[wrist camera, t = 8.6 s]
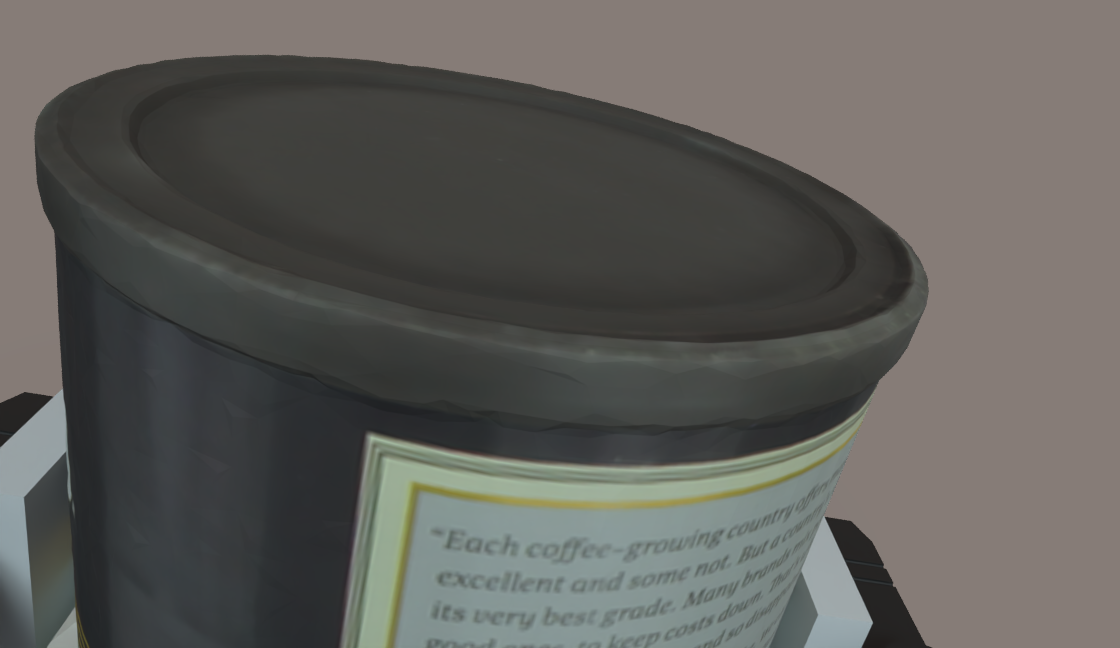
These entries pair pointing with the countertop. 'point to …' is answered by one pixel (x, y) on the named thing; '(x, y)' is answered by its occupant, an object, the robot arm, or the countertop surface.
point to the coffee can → (445, 360)
